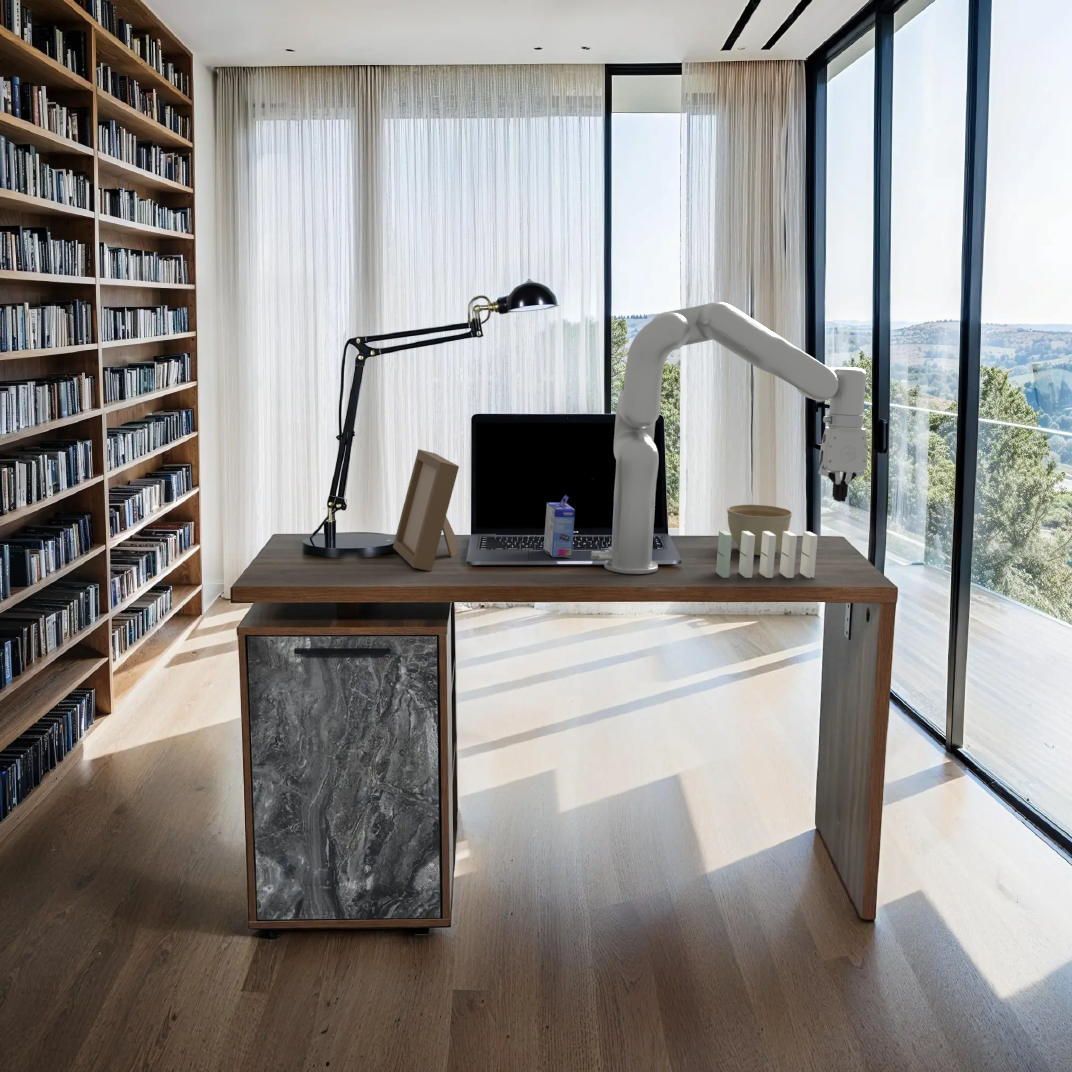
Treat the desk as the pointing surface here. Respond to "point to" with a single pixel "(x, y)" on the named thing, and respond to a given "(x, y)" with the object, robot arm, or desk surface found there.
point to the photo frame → (426, 511)
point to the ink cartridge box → (559, 528)
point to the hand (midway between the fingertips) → (839, 500)
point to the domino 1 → (724, 554)
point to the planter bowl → (758, 522)
